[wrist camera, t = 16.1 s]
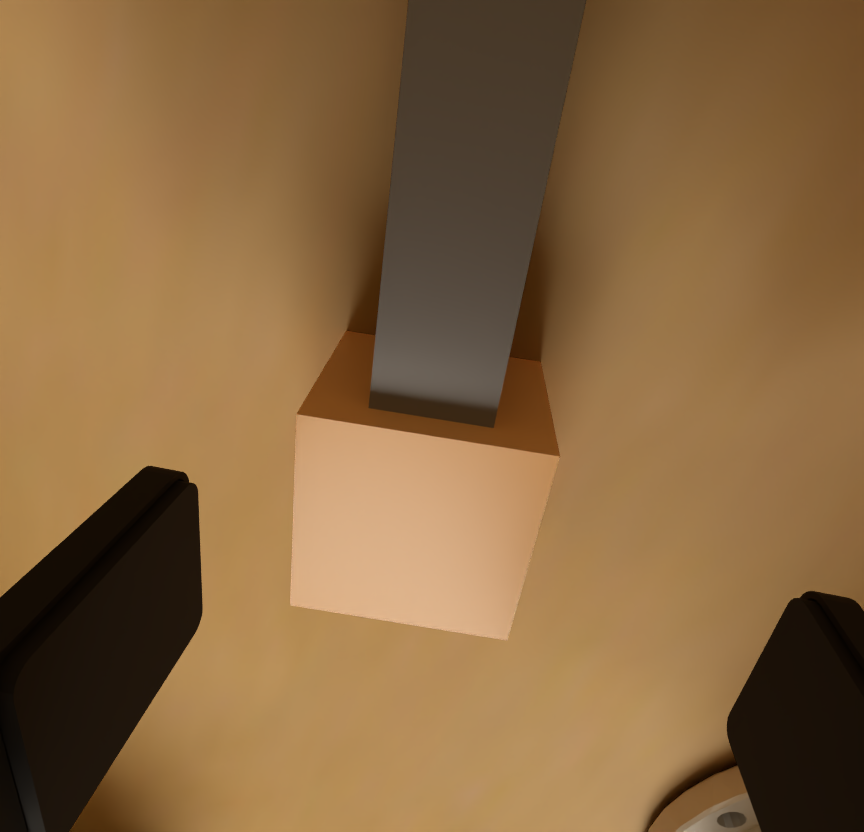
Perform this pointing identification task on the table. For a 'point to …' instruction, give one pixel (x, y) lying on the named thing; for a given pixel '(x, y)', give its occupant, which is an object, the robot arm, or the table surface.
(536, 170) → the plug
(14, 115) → the table surface
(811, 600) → the robot arm
